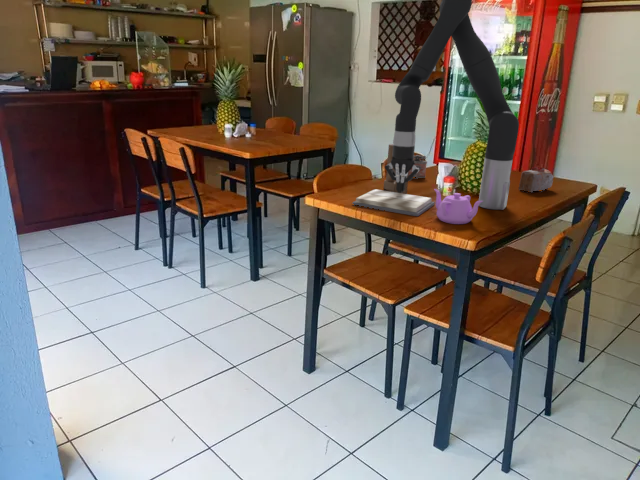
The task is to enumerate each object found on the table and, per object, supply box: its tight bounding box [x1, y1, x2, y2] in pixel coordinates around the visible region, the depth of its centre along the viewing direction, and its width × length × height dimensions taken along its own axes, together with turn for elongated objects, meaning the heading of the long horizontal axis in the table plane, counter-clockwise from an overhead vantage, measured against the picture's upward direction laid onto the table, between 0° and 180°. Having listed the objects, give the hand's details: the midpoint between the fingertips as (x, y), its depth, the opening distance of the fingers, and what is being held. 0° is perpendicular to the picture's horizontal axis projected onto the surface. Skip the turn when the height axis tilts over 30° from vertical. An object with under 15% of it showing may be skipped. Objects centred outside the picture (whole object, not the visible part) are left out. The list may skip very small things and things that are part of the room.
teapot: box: [433, 188, 483, 225], centre depth 161 cm, size 12×14×9 cm
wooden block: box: [383, 143, 409, 194], centre depth 193 cm, size 4×11×18 cm, turn 29°
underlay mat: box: [352, 200, 436, 217], centre depth 177 cm, size 24×18×1 cm
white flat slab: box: [355, 193, 424, 212], centre depth 173 cm, size 22×8×2 cm, turn 61°
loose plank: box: [365, 188, 433, 207], centre depth 180 cm, size 22×8×2 cm, turn 61°
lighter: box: [409, 154, 428, 179], centre depth 221 cm, size 8×3×10 cm, turn 81°
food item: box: [518, 166, 554, 193], centre depth 205 cm, size 14×8×10 cm, turn 125°
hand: (400, 192), depth 180 cm, fingers closed
